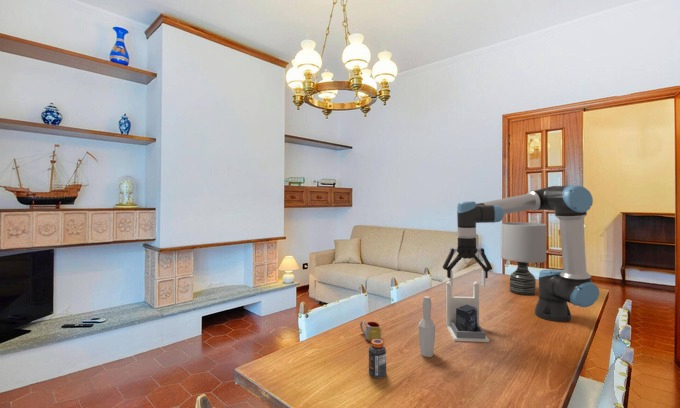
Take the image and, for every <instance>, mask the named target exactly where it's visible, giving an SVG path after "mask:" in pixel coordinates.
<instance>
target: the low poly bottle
mask: <svg viewBox="0 0 680 408" xmlns="http://www.w3.org/2000/svg"><path fill="white" fill-rule="evenodd" d="M422 298H423V299H422V318H421V320H420V321H419V322H418V340H419V341H418V342H419V349H420V355H421V356H423V357H426V358H431V357H433V356H434V351H435V350H434V349H435V342H436V323H435V322H434V321H433V319H432V318H431V316H432V315H431V310H432V300H431V297H430V296H428V295H425V296H423V297H422Z"/></svg>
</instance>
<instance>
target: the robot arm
mask: <svg viewBox="0 0 680 408" xmlns="http://www.w3.org/2000/svg"><path fill="white" fill-rule="evenodd" d="M593 203H594V198H593V195H592V193H591V192H590V190H588V189H587V188H586V187H585V186H582V185H574V184H572V185H571V184H570V185H552V186H551V185H550V186H547V187H544V188H543V187H542V188H539V189H536V190H530V191H528V192H527V193H526V194H522V195H521V194H520V195H516V196H509V197H504V198H500V199H495V200H490V201H488V200H487V201H483V202H479V203H476V201H473V200H472V201H471V200H470V201H467V200H466V201H459V202H458V203H457V207H456V208H457V209H456V213H457V214H456V217H457V220H456V221H457V247H456V248H453V247H450V248H449V254H448V255H447V257H446V259H445V261H444V263H443V265H442V269H443V270H444V271H446V277H447V278H448V279H449V281H450V286H451V287H453V285H454V280H453V277H454V273H453V272H454V271H453V268H454V267H455V266H456V265H457V264H458V263H459V262H460V260H463V259H464V260H465V259H469V260H471V259H473V260H474V261H475V262H476V263H477V264H478V265H479V266H480V267H481V268H482V269H481V286H482V287H486V279H488V277H489V275H488V273H489V271H490V270H493V266H492V265H491V263H490V261H489V259H488V257H487V255H486V254H485V253H486V251H485V249H484V247H479V248H477V238H476V237H477V224H481V223H482V224H484V223H485V224H487V223H489V224H490V223H491V224H492V223H493V224H494V223H500V222H502V221H503V219H504V215H508V214H513V213H518V212H524V211H529V210H531V211H534V212H535V211H536V212H537V211H540V210H542V211H543V210H546V211H554V215H555V217H556V218H557V219H558V220H559V228H560V240H561V241H560V243H561V257H562V269H541V270H540V271H539V274H538V275H539V276H538V301H537V302H536V306H535V308H534V315H535V316H537V317H538V318H541V319H544V320H548V321H551V322H559V323H561V322H562V323H563V322H566V323H567V322H570V321H571V320H572V313H571V310H570V308H569V304H572V305H573V306H575V307H576V306H577V307H580V308H589V307H591V306H592V305H594V304H595V303H596V302H597V301H598V299H599V297H600V289H599V287H598V286H597V285H596V284H595V283H593V281H592V275H591V274H590V273H589V272H588V271H587V259H586V258H587V257H586V246H585V230H584V218H585V217H586V216H587V215H588V213H587V212H588V211H590V209H591V207H592V206H593ZM455 253H458V254H457V255H456V257H454V255H455ZM477 253H479V254H480V256H481V258H482V260H483V262H484V263H483V262H482V261H481V260H480V258H479V257H478V256H477V255H476V254H477ZM452 258H454V259H453V260H452ZM568 303H569V304H568Z"/></svg>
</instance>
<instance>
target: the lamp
mask: <svg viewBox="0 0 680 408" xmlns="http://www.w3.org/2000/svg"><path fill="white" fill-rule="evenodd" d="M500 232H501V235H500V236H501V238H500V240H501V244H500V245H501V246H500V247H501V249H500V253H501V254H500V257H501V259H503V260H506V261H511V262H515V263H516V264H517V266H516V270H514V271H513V272H512V273H511V274H510V275H509V291H510V292H511V293H513V294H516V295H520V296H527V297H528V296H529V297H530V296H535V295H536V293H537V292H536V291H537V288H536V287H537V285H536V283H537V282H536V281H537V280H536V277H535V276H534V274H533V273H531V271H530V270H529V267H528V266H529V263H531V264H538V263H540V264H541V263H545V262H546V261H547V224H546V223H540V222H524V221H523V222H522V221H521V222H519V221H516V222H515V221H513V222H511V221H508V222H506V221H505V222H502V223H501V231H500Z"/></svg>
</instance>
